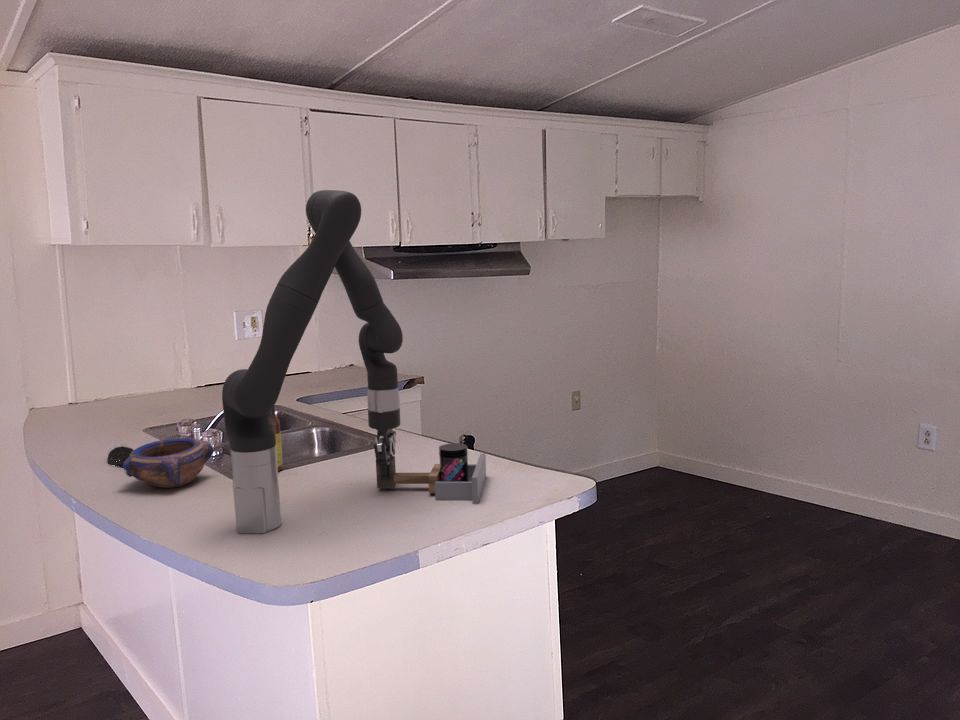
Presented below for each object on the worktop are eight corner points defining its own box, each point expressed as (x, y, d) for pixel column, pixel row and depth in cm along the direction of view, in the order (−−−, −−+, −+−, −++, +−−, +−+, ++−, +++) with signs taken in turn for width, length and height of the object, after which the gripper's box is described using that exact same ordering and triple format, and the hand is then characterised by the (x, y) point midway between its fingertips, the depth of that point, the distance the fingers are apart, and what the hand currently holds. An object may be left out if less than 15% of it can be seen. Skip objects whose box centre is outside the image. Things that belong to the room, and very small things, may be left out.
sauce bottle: (257, 469, 213) (251, 395, 210) (281, 466, 215) (275, 393, 212) (260, 475, 207) (255, 399, 204) (285, 472, 209) (280, 397, 206)
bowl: (115, 491, 197) (111, 452, 196) (167, 471, 214) (163, 434, 212) (174, 497, 191) (171, 457, 190) (223, 476, 208) (220, 438, 206)
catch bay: (477, 503, 181) (477, 477, 180) (433, 503, 182) (432, 477, 181) (486, 476, 200) (485, 453, 199) (446, 476, 201) (445, 453, 200)
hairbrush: (119, 470, 207) (103, 445, 227) (120, 484, 208) (104, 458, 228) (153, 465, 211) (135, 441, 232) (154, 478, 212) (136, 453, 233)
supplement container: (434, 489, 191) (432, 447, 190) (456, 483, 196) (454, 441, 194) (452, 496, 186) (451, 452, 185) (474, 489, 191) (473, 446, 189)
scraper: (437, 493, 187) (436, 463, 186) (373, 492, 188) (372, 463, 187) (443, 480, 196) (442, 452, 195) (382, 480, 198) (381, 452, 197)
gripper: (374, 400, 197) (377, 469, 200) (360, 413, 183) (364, 486, 186) (405, 400, 196) (407, 469, 199) (393, 413, 183) (396, 486, 185)
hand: (386, 477), depth 192 cm, fingers closed on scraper, 3 cm apart
